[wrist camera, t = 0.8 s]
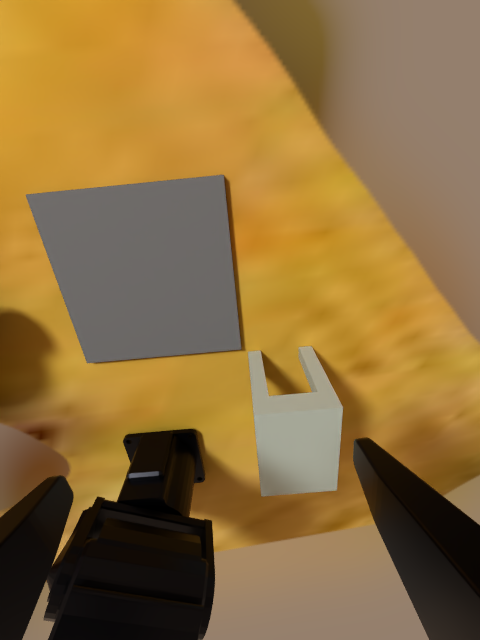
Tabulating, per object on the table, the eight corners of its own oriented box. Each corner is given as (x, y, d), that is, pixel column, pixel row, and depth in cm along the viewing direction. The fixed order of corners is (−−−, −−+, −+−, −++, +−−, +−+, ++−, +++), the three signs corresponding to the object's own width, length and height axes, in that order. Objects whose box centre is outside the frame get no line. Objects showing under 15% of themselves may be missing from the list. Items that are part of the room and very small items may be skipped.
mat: (241, 346, 22) (241, 349, 22) (89, 360, 22) (87, 363, 22) (223, 175, 17) (223, 174, 17) (29, 194, 17) (25, 194, 17)
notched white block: (310, 414, 25) (336, 490, 19) (254, 419, 25) (261, 496, 19) (311, 346, 22) (343, 407, 16) (247, 351, 22) (254, 415, 16)
